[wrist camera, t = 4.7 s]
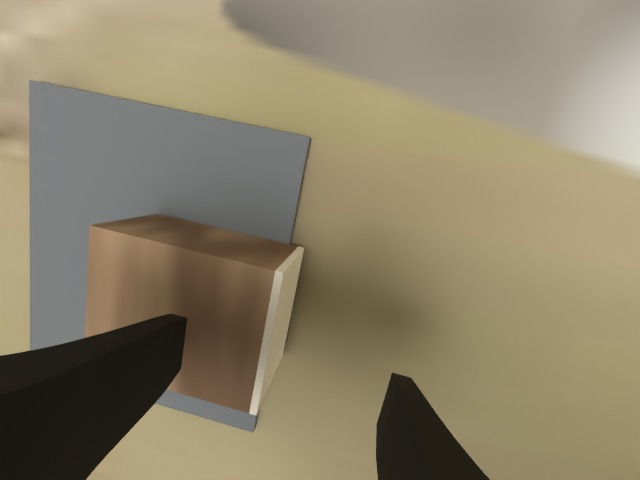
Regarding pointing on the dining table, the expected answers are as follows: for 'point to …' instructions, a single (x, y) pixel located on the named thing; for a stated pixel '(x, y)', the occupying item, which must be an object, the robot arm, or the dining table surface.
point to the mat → (143, 195)
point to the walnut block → (198, 299)
